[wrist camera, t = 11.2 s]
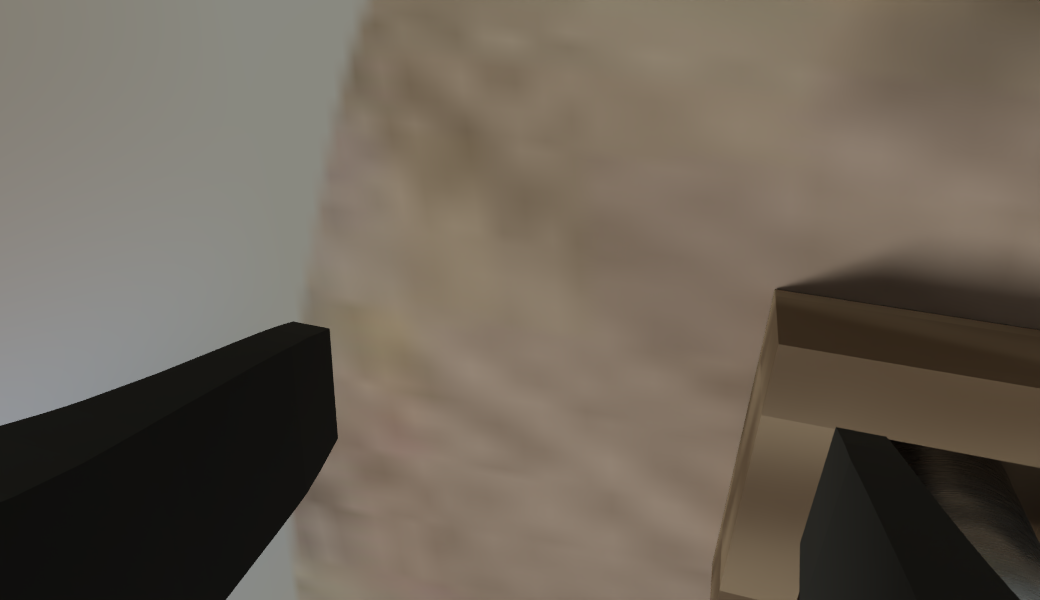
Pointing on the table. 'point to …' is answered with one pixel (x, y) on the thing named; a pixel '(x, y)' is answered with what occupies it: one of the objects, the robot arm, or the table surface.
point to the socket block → (866, 418)
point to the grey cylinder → (982, 511)
